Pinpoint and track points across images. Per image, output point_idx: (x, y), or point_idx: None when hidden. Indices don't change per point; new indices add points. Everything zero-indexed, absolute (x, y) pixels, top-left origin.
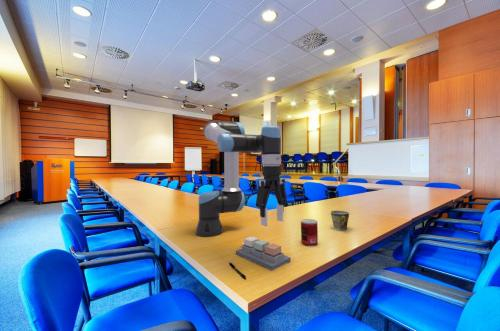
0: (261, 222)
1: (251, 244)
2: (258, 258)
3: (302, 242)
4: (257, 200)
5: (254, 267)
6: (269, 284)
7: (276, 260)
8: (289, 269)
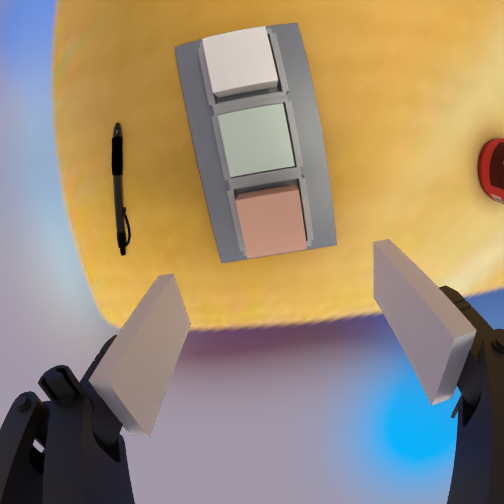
0: (153, 289)
1: (218, 95)
2: (215, 174)
3: (483, 157)
4: (8, 457)
5: (181, 201)
6: None
7: None
8: (281, 282)
